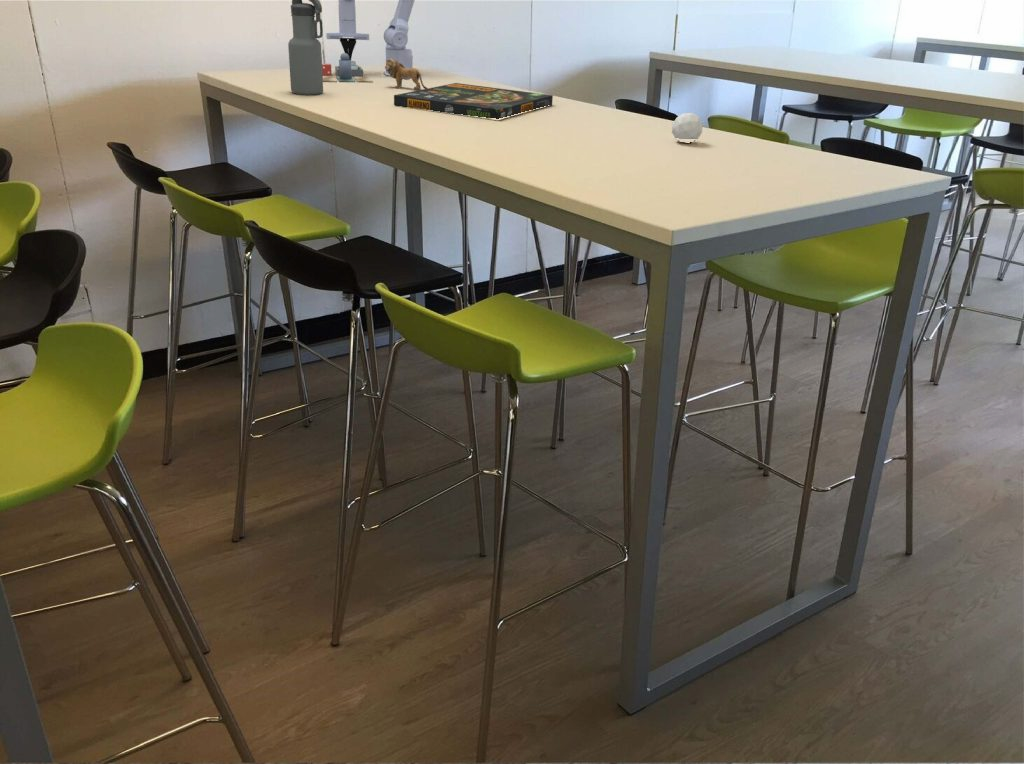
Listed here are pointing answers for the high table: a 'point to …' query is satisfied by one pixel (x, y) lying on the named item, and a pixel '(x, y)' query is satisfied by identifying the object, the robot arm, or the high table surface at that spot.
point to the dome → (354, 65)
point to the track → (358, 79)
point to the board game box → (473, 100)
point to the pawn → (345, 67)
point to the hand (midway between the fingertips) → (348, 61)
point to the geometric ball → (687, 126)
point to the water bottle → (306, 49)
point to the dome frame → (353, 72)
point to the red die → (326, 69)
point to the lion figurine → (403, 73)
